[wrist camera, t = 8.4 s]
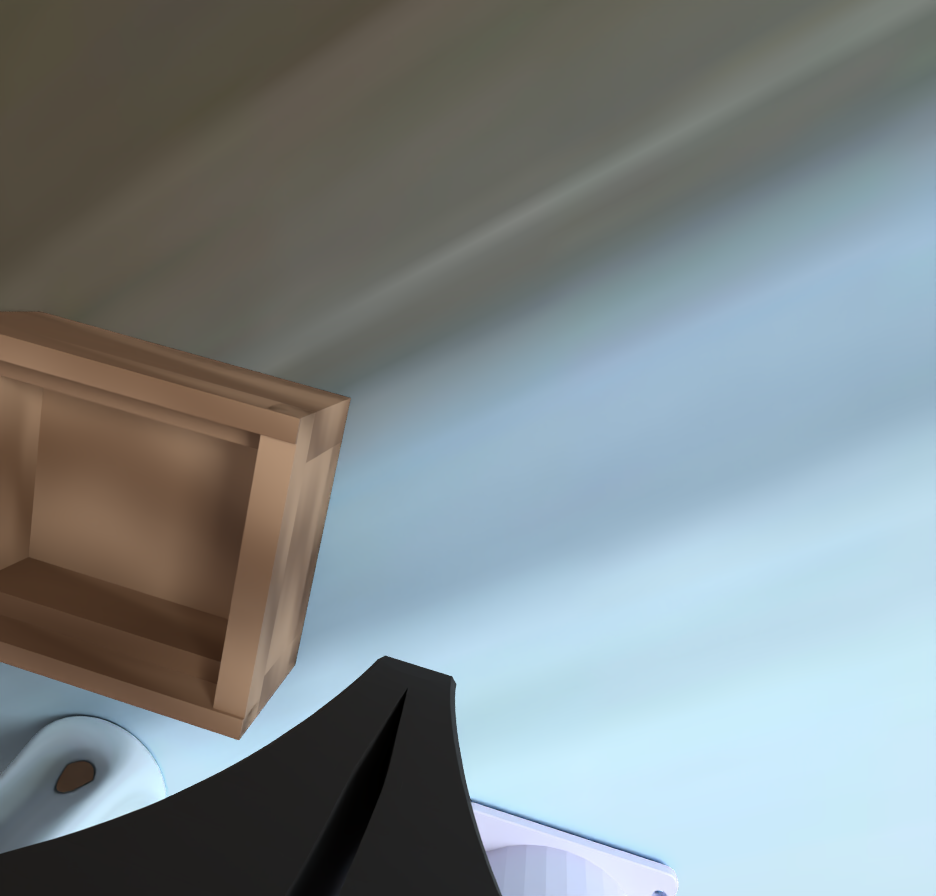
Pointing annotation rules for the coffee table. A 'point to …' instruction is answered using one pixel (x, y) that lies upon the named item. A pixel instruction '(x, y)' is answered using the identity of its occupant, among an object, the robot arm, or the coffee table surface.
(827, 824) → the coffee table surface
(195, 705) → the box
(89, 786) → the beer glass
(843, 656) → the coffee table surface
